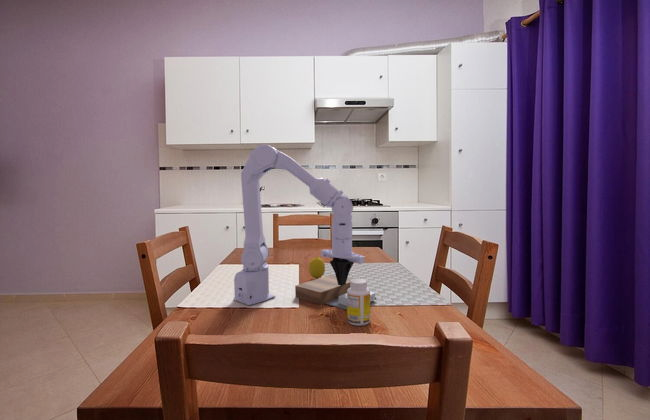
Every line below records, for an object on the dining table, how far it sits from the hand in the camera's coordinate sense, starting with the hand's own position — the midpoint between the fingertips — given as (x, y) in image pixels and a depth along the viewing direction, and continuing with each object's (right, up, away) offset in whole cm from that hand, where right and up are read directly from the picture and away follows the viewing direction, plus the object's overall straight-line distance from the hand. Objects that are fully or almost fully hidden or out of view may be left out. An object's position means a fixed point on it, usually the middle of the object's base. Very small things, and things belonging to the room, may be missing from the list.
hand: (341, 284), depth 108 cm
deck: (-5, -4, +4) cm, 7 cm away
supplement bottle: (+3, -6, -17) cm, 18 cm away
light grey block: (+4, -2, -3) cm, 6 cm away
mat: (+3, -4, -2) cm, 5 cm away
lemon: (-8, -3, +20) cm, 22 cm away
